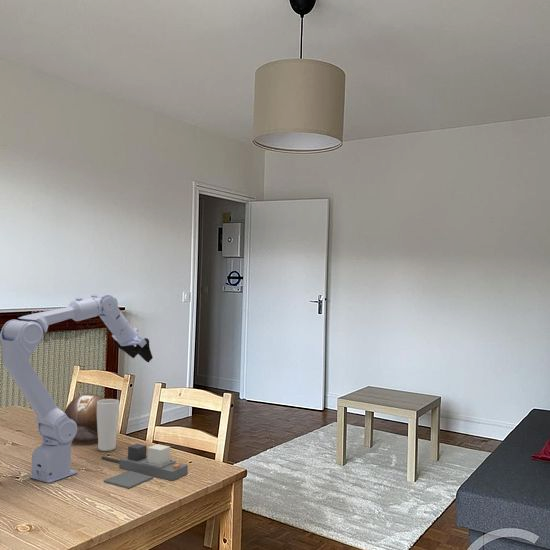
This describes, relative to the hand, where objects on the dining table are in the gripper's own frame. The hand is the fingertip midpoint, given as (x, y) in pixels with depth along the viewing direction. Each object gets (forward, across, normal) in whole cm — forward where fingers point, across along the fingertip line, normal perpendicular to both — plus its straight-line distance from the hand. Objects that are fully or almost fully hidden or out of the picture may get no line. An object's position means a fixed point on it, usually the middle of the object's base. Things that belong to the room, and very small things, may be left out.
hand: (142, 357), depth 173 cm
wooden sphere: (+19, +20, +24) cm, 37 cm away
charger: (+13, -22, +23) cm, 34 cm away
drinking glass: (+18, +7, +24) cm, 31 cm away
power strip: (+14, -15, +26) cm, 33 cm away
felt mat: (+9, -21, +31) cm, 39 cm away
